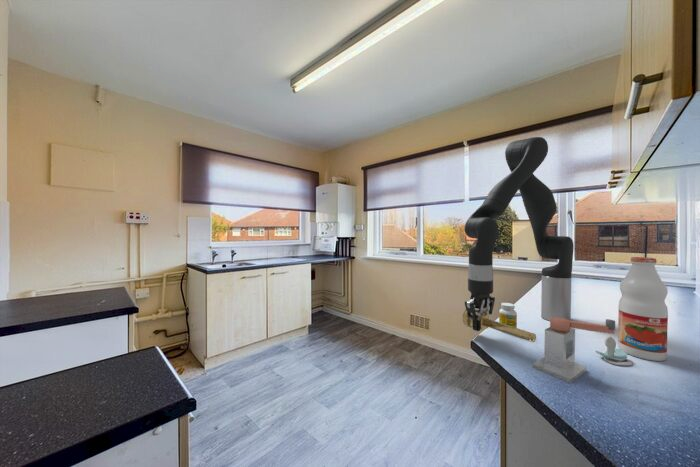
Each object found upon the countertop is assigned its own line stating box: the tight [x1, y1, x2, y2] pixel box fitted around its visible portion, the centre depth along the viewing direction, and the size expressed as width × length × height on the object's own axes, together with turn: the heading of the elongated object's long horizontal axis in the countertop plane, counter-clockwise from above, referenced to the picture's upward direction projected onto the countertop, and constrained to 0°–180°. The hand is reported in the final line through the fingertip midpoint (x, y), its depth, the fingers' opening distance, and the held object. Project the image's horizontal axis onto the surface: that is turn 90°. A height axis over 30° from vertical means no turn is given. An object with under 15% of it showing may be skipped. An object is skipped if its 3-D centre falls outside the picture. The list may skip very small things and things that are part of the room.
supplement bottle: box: [498, 302, 518, 328], centre depth 91 cm, size 5×5×10 cm
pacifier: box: [595, 336, 633, 367], centre depth 70 cm, size 7×6×6 cm
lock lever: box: [549, 317, 616, 335], centre depth 64 cm, size 12×4×4 cm, turn 60°
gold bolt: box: [462, 309, 537, 343], centre depth 80 cm, size 6×20×6 cm, turn 31°
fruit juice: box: [617, 256, 669, 362], centre depth 74 cm, size 9×9×28 cm
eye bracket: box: [532, 326, 588, 384], centre depth 66 cm, size 10×8×10 cm
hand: (480, 328), depth 85 cm, fingers closed on gold bolt, 3 cm apart
